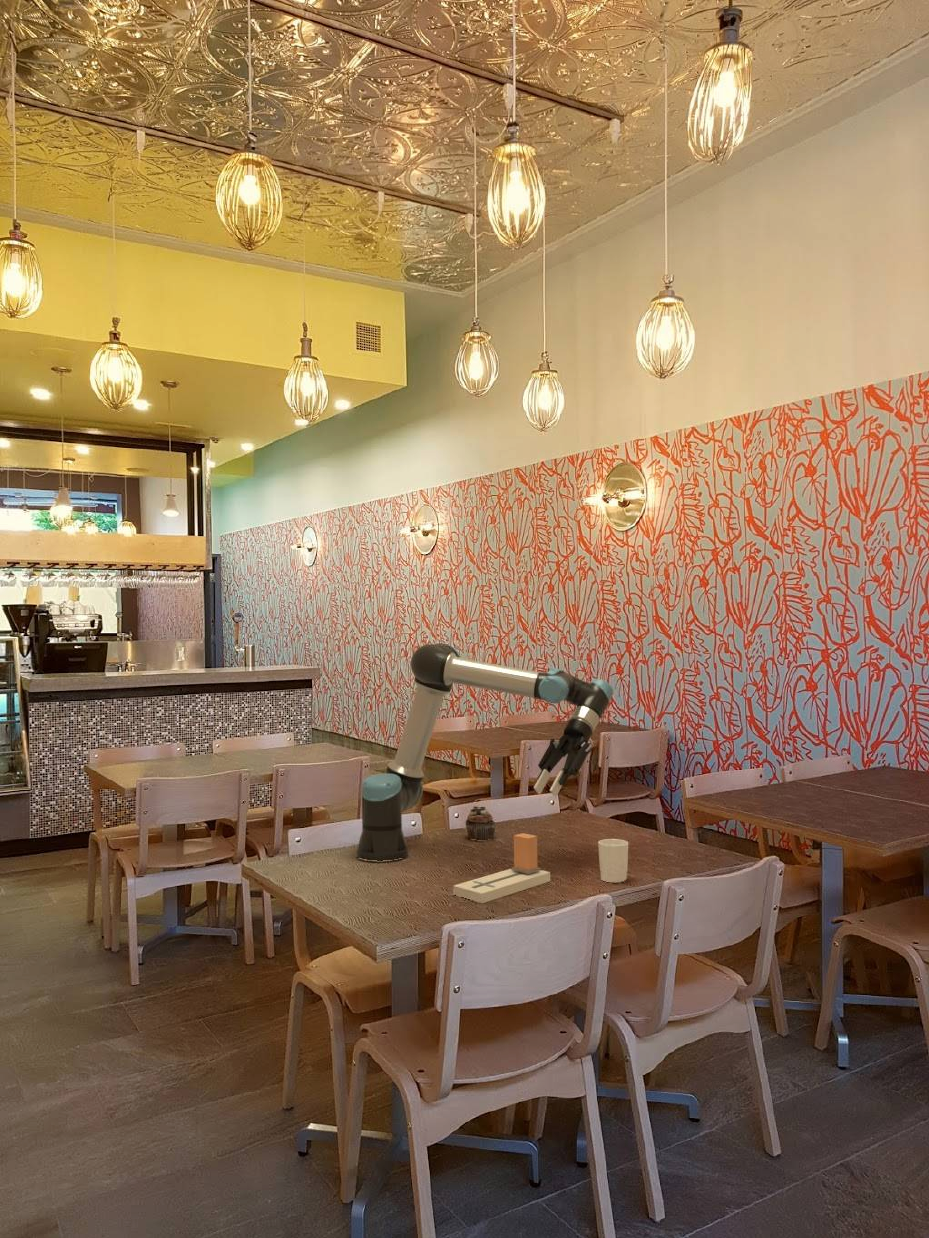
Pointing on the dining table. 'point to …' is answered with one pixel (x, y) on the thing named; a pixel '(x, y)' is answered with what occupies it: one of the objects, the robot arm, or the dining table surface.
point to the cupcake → (480, 824)
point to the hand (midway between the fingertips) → (544, 792)
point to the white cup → (613, 859)
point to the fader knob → (525, 853)
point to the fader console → (499, 885)
